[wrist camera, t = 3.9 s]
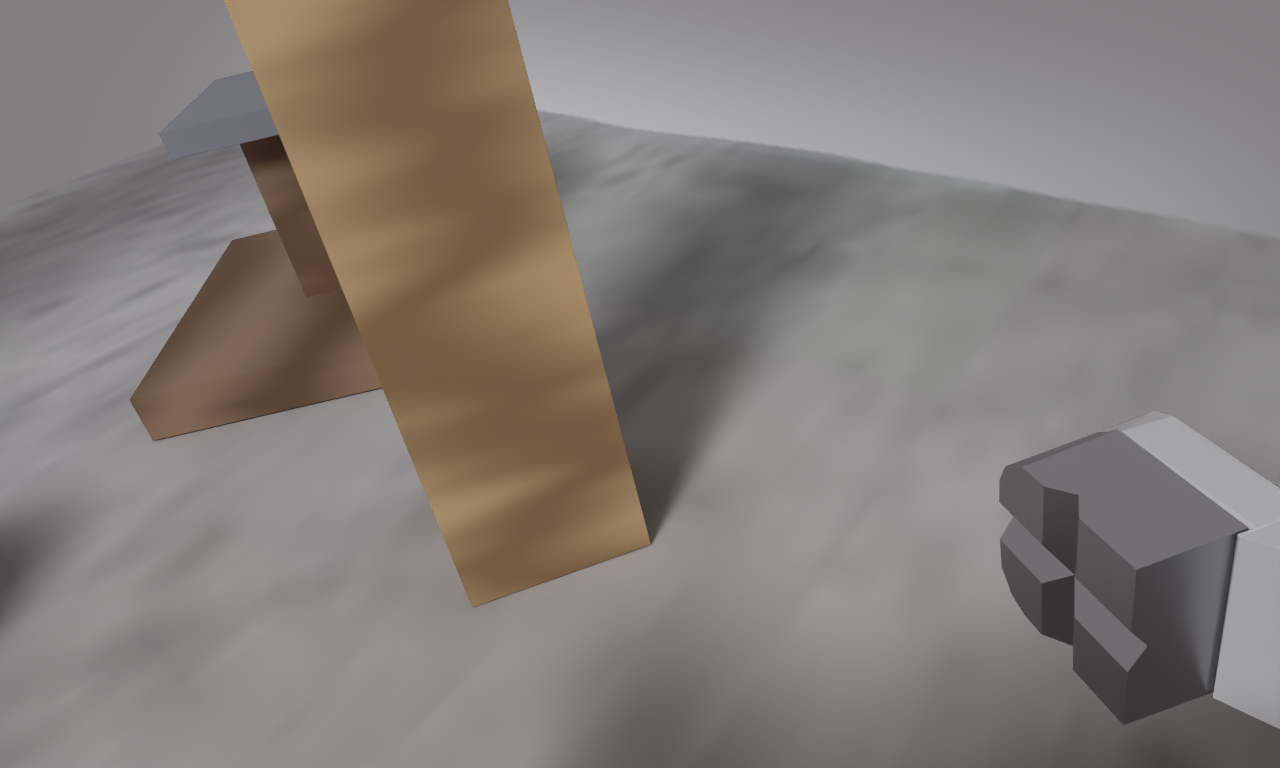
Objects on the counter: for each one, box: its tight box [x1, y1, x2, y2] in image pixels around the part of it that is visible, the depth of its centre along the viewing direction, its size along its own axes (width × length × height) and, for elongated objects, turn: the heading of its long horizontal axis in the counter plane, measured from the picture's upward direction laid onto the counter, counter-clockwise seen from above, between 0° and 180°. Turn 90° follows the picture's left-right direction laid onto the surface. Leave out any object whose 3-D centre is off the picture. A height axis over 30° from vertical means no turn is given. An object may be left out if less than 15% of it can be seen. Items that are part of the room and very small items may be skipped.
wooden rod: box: [224, 0, 651, 607], centre depth 19 cm, size 4×4×14 cm
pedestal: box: [130, 71, 382, 441], centre depth 33 cm, size 12×12×8 cm
